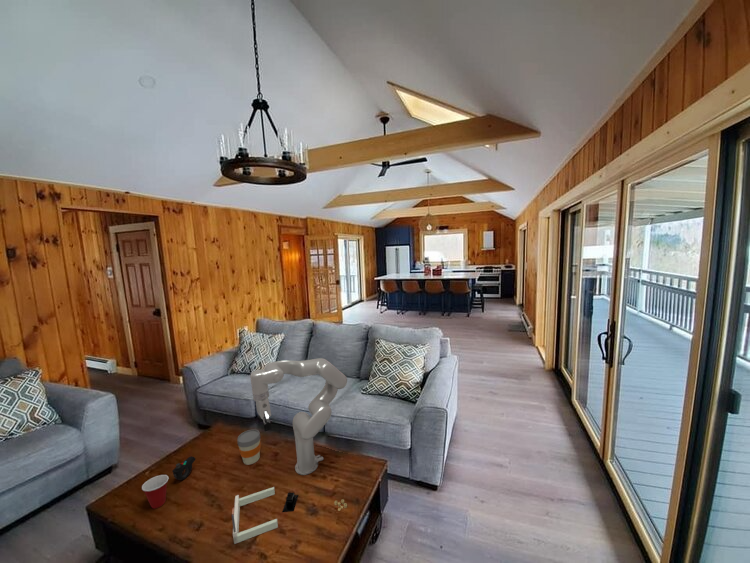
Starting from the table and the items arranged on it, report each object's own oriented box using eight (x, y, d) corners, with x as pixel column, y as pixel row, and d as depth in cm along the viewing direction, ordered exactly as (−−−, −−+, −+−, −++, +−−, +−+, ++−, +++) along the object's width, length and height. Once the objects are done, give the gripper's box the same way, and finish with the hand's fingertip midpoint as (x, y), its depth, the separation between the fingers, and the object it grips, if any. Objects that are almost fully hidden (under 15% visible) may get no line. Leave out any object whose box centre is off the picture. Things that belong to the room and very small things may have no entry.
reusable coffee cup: (254, 449, 187) (252, 426, 185) (267, 456, 179) (264, 433, 177) (235, 461, 177) (232, 438, 175) (247, 470, 169) (244, 445, 167)
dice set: (334, 504, 144) (333, 501, 144) (344, 500, 146) (344, 497, 146) (337, 513, 140) (336, 509, 139) (347, 508, 142) (347, 505, 141)
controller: (172, 484, 162) (170, 467, 161) (192, 467, 174) (189, 451, 173) (179, 485, 161) (176, 468, 160) (198, 468, 173) (195, 452, 171)
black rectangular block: (287, 494, 152) (286, 485, 152) (301, 493, 152) (300, 485, 152) (279, 516, 140) (278, 507, 139) (295, 515, 140) (294, 506, 139)
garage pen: (274, 492, 153) (272, 468, 151) (277, 527, 134) (274, 501, 132) (236, 505, 147) (233, 481, 145) (234, 544, 127) (230, 516, 125)
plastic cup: (177, 496, 154) (173, 475, 152) (157, 514, 144) (153, 492, 142) (160, 492, 157) (157, 471, 155) (139, 510, 147) (135, 488, 145)
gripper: (273, 398, 147) (277, 430, 149) (263, 385, 161) (267, 415, 164) (257, 404, 143) (262, 437, 145) (249, 390, 157) (253, 420, 159)
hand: (265, 425), depth 154 cm, fingers open, 9 cm apart
